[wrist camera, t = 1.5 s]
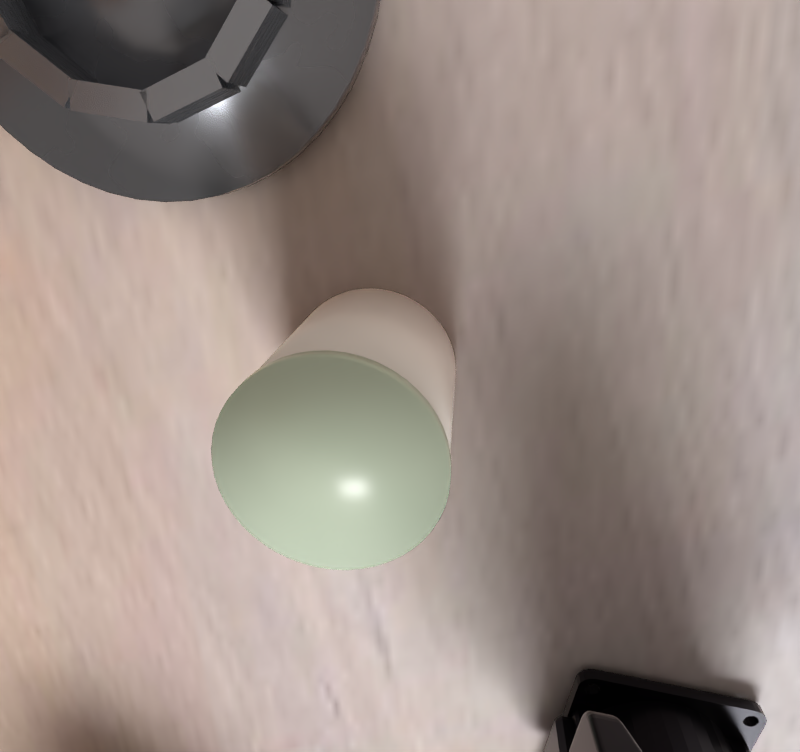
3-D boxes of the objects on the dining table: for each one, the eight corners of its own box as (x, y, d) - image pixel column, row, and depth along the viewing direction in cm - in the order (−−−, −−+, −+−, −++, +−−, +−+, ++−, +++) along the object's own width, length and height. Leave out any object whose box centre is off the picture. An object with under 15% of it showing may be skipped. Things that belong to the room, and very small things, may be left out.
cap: (472, 302, 17) (471, 382, 11) (442, 456, 19) (429, 589, 13) (297, 273, 17) (213, 336, 11) (286, 428, 19) (209, 546, 13)
